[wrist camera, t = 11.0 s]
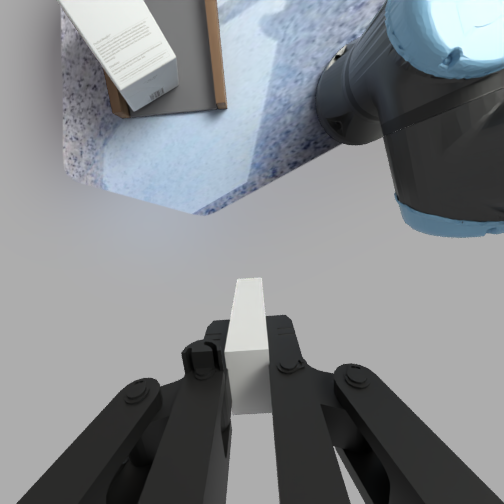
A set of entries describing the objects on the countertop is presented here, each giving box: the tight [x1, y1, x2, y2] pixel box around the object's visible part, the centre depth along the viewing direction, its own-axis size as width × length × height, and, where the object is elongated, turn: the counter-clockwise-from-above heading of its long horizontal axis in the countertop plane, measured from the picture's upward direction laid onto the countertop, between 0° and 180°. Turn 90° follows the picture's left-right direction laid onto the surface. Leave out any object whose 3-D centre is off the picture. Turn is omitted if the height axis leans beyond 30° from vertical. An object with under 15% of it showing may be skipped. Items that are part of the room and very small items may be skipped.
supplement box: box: [57, 0, 179, 112], centre depth 32 cm, size 9×9×15 cm
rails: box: [103, 0, 227, 118], centre depth 37 cm, size 18×16×3 cm
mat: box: [128, 0, 217, 118], centre depth 38 cm, size 15×16×1 cm
